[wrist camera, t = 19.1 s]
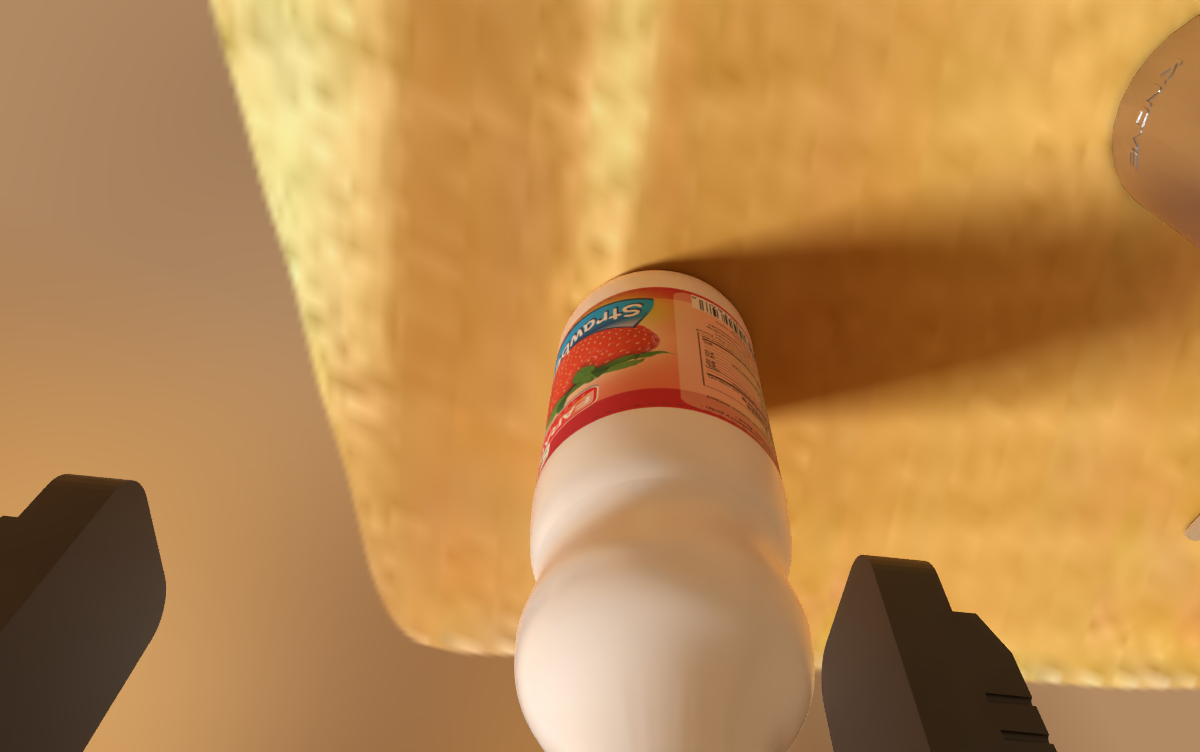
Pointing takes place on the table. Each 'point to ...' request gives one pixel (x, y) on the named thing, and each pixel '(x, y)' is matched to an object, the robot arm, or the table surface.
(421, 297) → the table surface
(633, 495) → the strawberry milk bottle
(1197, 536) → the popsicle
